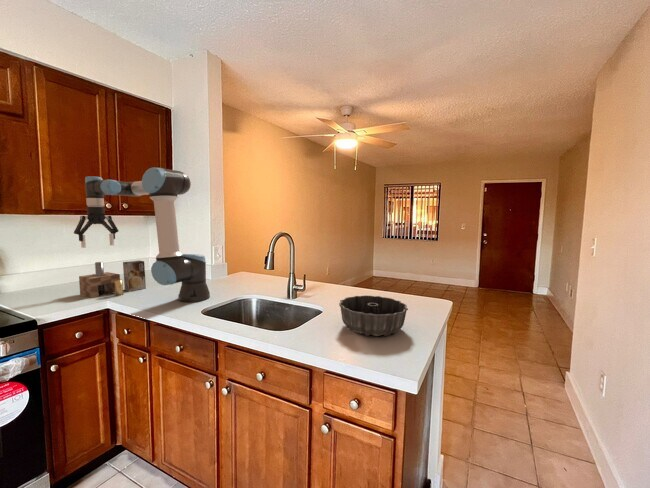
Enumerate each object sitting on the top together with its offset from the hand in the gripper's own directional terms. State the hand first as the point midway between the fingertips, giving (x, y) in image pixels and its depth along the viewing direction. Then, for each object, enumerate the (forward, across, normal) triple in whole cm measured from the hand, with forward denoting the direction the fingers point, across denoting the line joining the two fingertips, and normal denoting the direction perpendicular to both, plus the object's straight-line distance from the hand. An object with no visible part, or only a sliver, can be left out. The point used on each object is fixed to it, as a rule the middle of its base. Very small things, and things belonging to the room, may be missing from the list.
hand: (98, 246), depth 166 cm
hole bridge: (+26, 0, 0) cm, 26 cm away
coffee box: (+26, -15, +6) cm, 31 cm away
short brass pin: (+26, -3, +12) cm, 28 cm away
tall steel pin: (+26, 0, 0) cm, 26 cm away
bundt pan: (+27, -25, +146) cm, 150 cm away
